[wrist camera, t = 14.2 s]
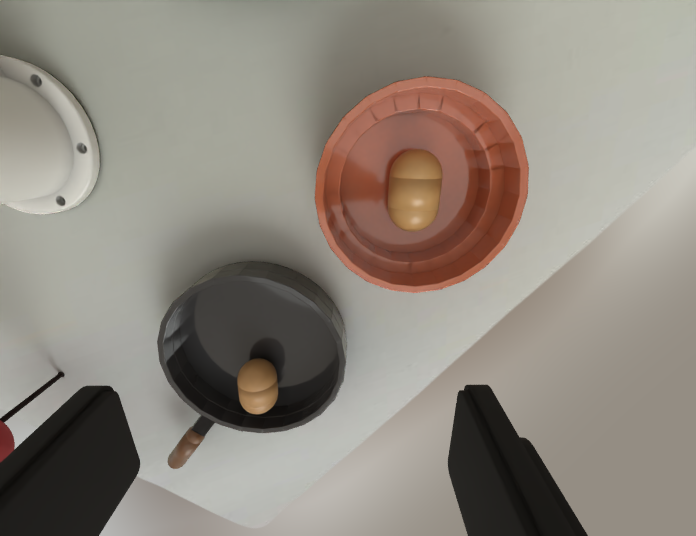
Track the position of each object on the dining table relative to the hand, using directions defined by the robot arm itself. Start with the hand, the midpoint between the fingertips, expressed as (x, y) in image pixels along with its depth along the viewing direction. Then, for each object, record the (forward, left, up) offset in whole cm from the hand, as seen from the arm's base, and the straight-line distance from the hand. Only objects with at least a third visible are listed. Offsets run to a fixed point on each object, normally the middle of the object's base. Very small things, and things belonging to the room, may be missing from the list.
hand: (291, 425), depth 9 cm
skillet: (+8, -13, -23) cm, 28 cm away
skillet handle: (+15, -24, -21) cm, 36 cm away
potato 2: (-1, +7, -23) cm, 24 cm away
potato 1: (+12, -14, -23) cm, 29 cm away
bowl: (-1, +7, -23) cm, 24 cm away
